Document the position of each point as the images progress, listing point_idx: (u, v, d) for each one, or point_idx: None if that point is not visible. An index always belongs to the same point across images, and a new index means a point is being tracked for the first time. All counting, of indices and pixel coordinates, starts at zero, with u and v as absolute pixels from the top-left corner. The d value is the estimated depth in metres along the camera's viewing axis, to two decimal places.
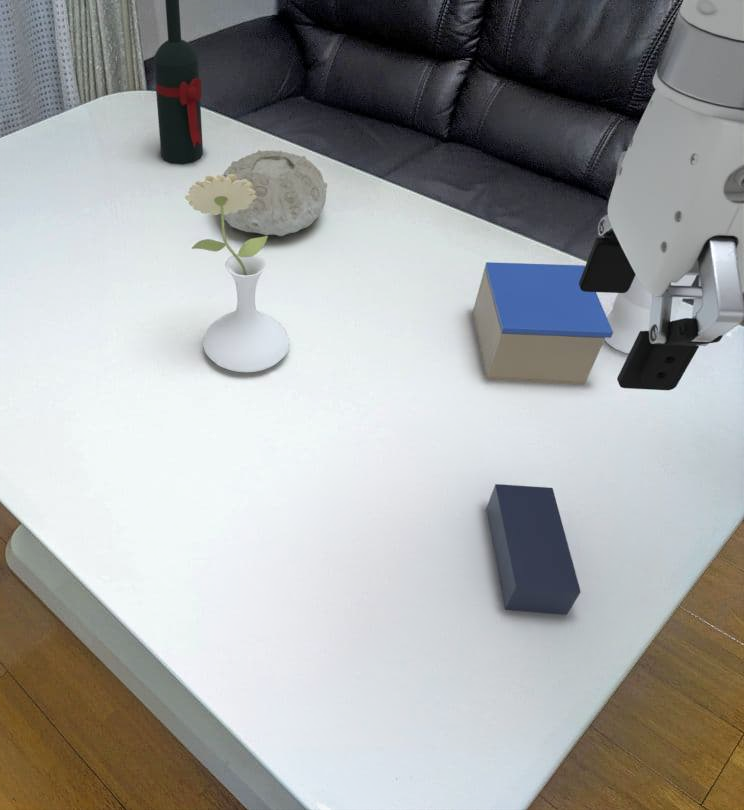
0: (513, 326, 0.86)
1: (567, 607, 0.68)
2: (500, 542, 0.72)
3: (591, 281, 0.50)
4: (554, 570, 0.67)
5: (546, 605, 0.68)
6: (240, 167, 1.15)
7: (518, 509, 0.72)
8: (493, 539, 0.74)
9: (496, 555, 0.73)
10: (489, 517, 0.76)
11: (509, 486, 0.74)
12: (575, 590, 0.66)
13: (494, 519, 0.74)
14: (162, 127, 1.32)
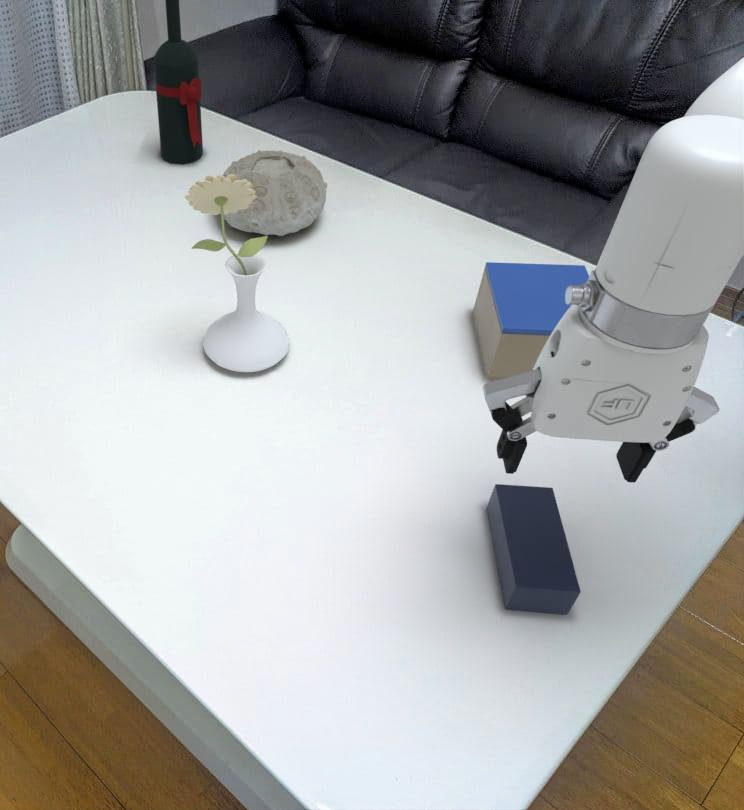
0: (513, 326, 0.86)
1: (567, 607, 0.68)
2: (500, 542, 0.72)
3: (620, 451, 0.63)
4: (554, 570, 0.67)
5: (546, 605, 0.68)
6: (240, 167, 1.15)
7: (518, 509, 0.72)
8: (493, 539, 0.74)
9: (496, 555, 0.73)
10: (489, 517, 0.76)
11: (509, 486, 0.74)
12: (575, 590, 0.66)
13: (494, 519, 0.74)
14: (162, 127, 1.32)
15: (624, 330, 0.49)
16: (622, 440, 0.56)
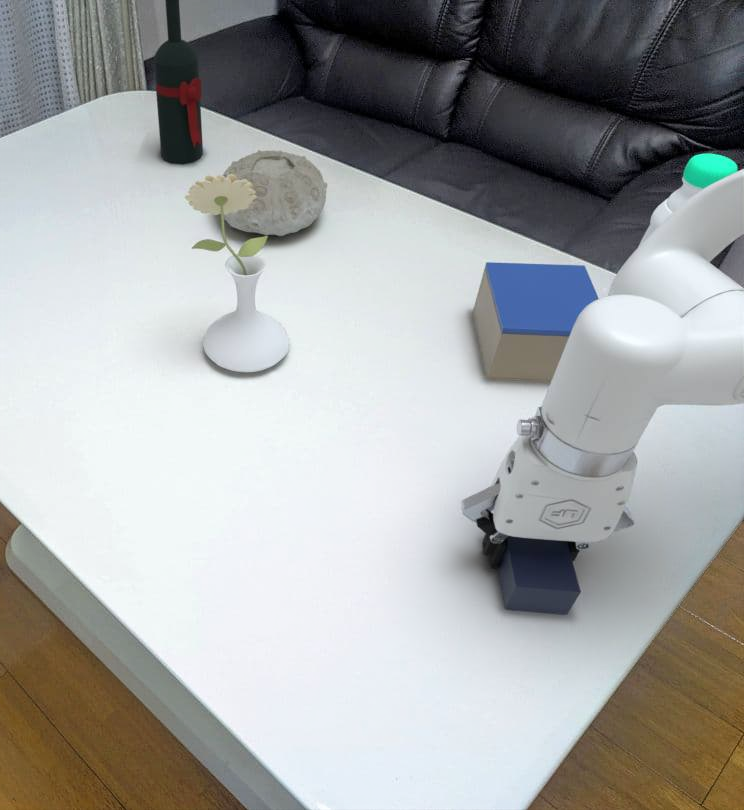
0: (513, 326, 0.86)
1: (567, 607, 0.68)
2: None
3: None
4: (554, 570, 0.67)
5: (546, 605, 0.68)
6: (240, 167, 1.15)
7: None
8: None
9: None
10: None
11: None
12: (575, 590, 0.66)
13: None
14: (162, 127, 1.32)
15: (564, 461, 0.58)
16: (570, 540, 0.66)
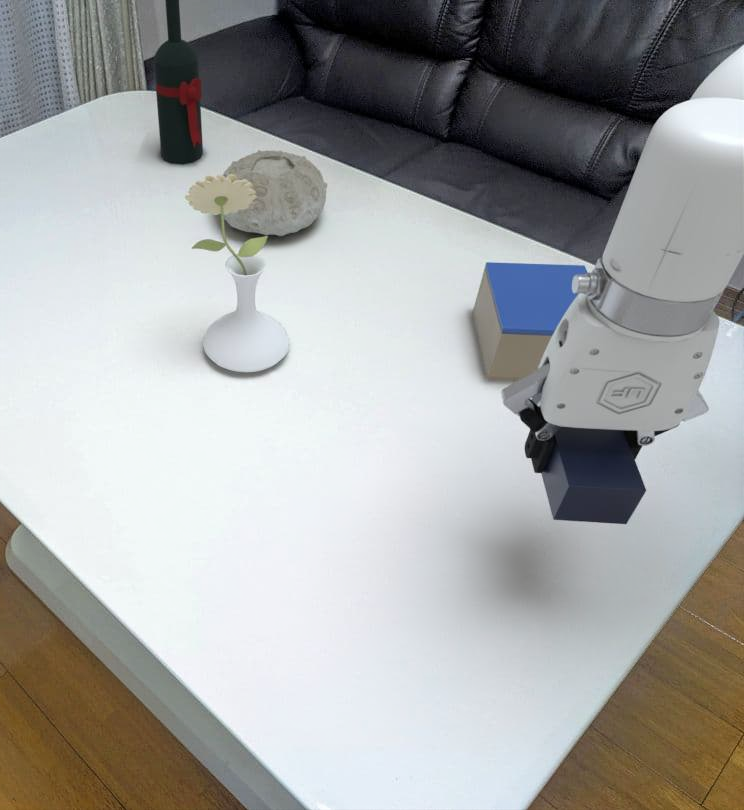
0: (513, 326, 0.86)
1: (629, 511, 0.58)
2: None
3: None
4: (613, 467, 0.57)
5: (604, 510, 0.58)
6: (240, 167, 1.15)
7: None
8: None
9: None
10: None
11: None
12: (639, 488, 0.56)
13: None
14: (162, 127, 1.32)
15: (632, 318, 0.48)
16: (633, 429, 0.56)
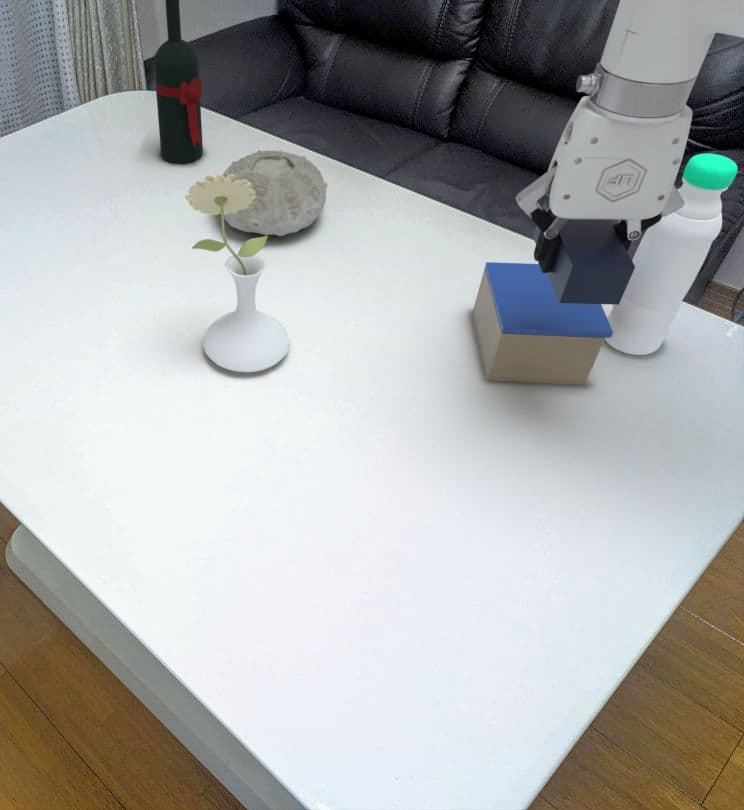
0: (513, 326, 0.86)
1: (621, 290, 0.70)
2: None
3: None
4: (607, 253, 0.70)
5: (600, 290, 0.71)
6: (240, 167, 1.15)
7: None
8: None
9: None
10: None
11: None
12: (630, 266, 0.69)
13: None
14: (162, 127, 1.32)
15: (624, 104, 0.61)
16: (624, 217, 0.69)
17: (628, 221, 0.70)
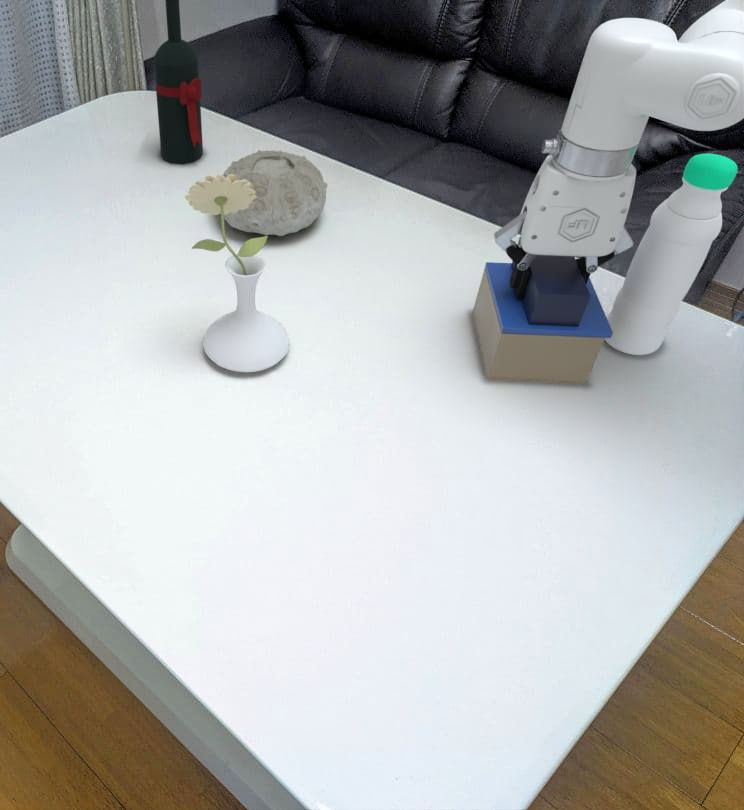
0: (513, 326, 0.86)
1: (579, 315, 0.84)
2: None
3: None
4: (569, 284, 0.84)
5: (562, 314, 0.84)
6: (240, 167, 1.15)
7: None
8: None
9: None
10: None
11: None
12: (586, 295, 0.82)
13: None
14: (162, 127, 1.32)
15: (579, 165, 0.75)
16: (583, 254, 0.82)
17: (587, 257, 0.84)
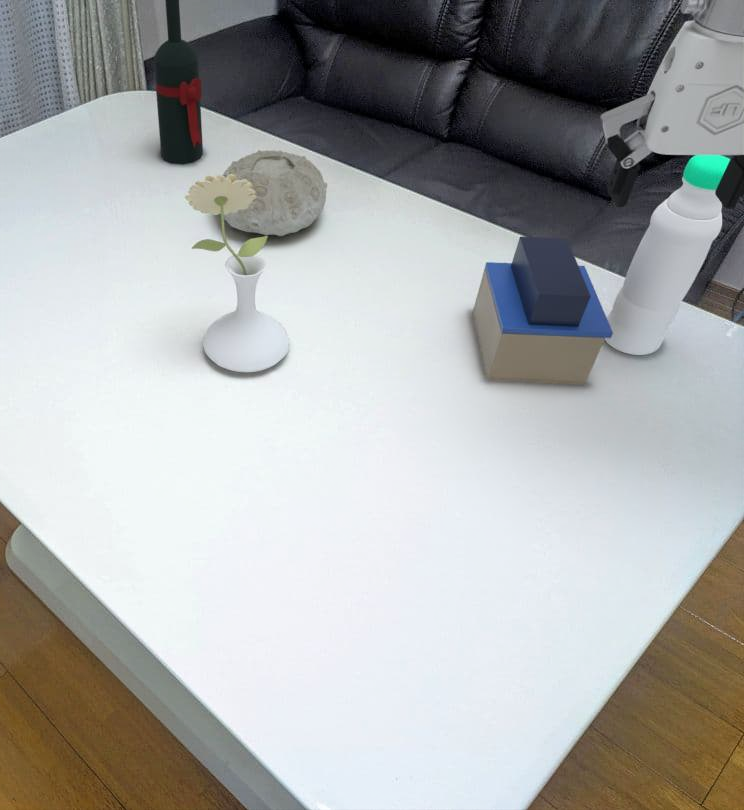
0: (513, 326, 0.86)
1: (579, 315, 0.84)
2: (525, 275, 0.88)
3: (719, 186, 0.71)
4: (569, 284, 0.84)
5: (563, 314, 0.84)
6: (240, 167, 1.15)
7: (539, 251, 0.89)
8: (518, 280, 0.91)
9: (521, 290, 0.89)
10: (514, 267, 0.93)
11: (531, 237, 0.91)
12: (586, 295, 0.82)
13: (519, 264, 0.91)
14: (162, 127, 1.32)
15: (736, 22, 0.58)
16: (727, 152, 0.65)
17: None
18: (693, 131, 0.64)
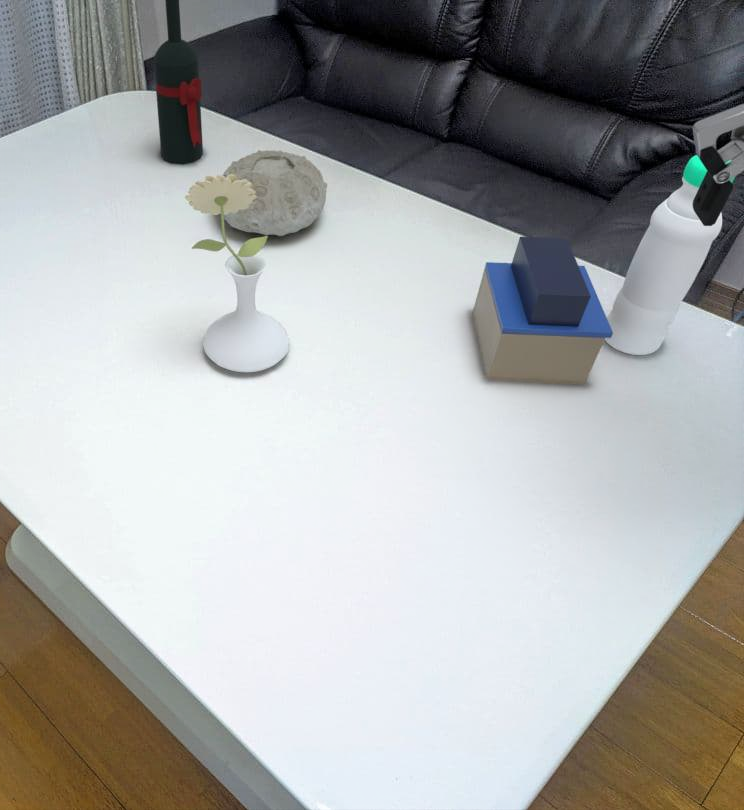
0: (513, 326, 0.86)
1: (579, 315, 0.84)
2: (525, 275, 0.88)
3: None
4: (569, 284, 0.84)
5: (563, 314, 0.84)
6: (240, 167, 1.15)
7: (539, 251, 0.89)
8: (518, 280, 0.91)
9: (521, 290, 0.89)
10: (514, 267, 0.93)
11: (531, 237, 0.91)
12: (586, 295, 0.82)
13: (519, 264, 0.91)
14: (162, 127, 1.32)
15: None
16: None
17: None
18: None
